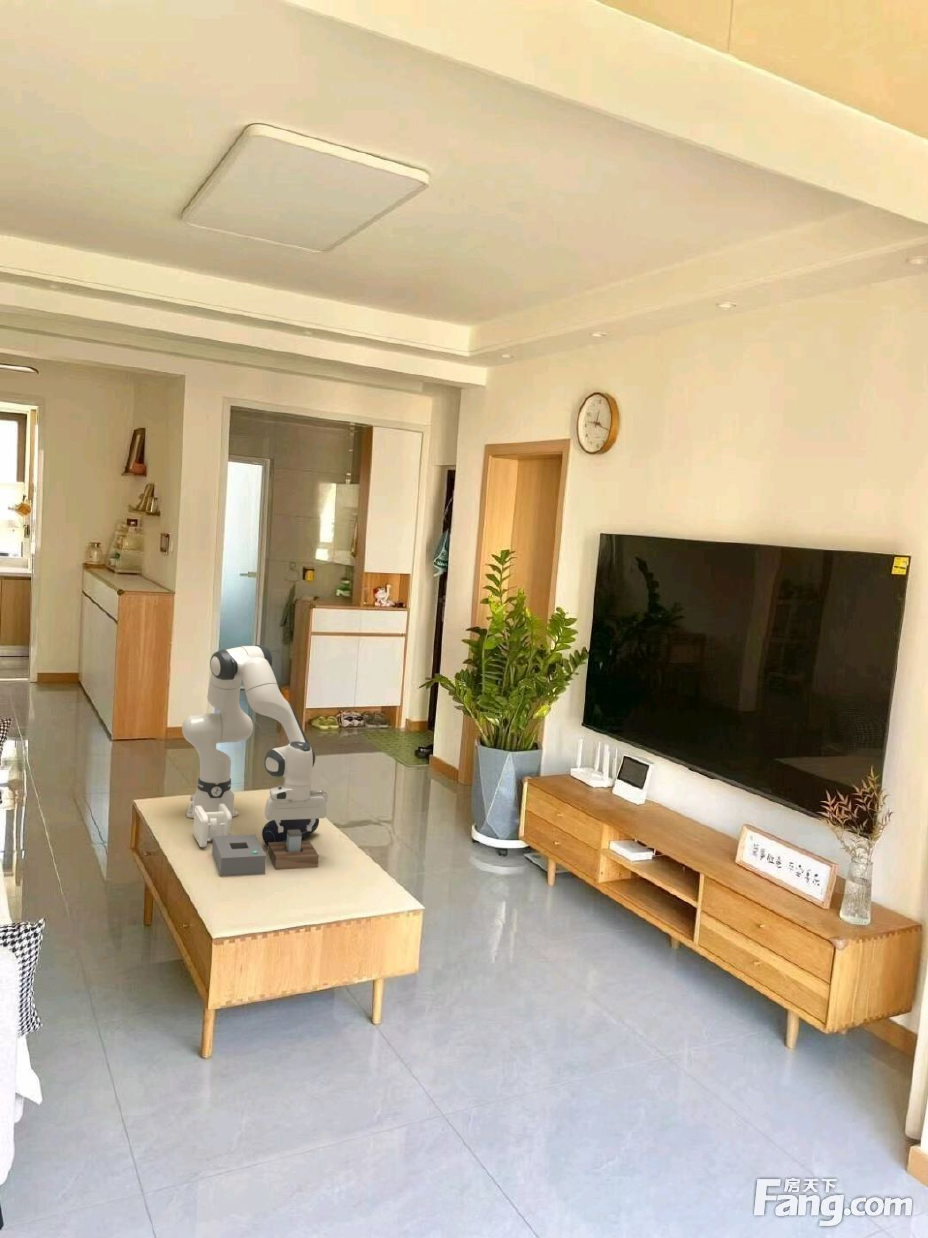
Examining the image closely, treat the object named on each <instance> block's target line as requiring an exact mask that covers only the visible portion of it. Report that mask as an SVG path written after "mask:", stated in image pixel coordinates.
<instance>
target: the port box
mask: <svg viewBox="0 0 928 1238" xmlns="http://www.w3.org/2000/svg"><path fill="white" fill-rule="evenodd" d="M211 854H212V857H213V860H214V863H215V865H216V868H217V872H218V874H219V876H220V877H230V876H231V877H232V876H249V875H250V876H251V875H265V874H266V863H267V854H266V852H265V851H264V849H263V847H262V845H261V843H260V841H259V839H258V836H257V835H256V834H255V833H254V834H234V835H233V834H232V835H228V836H213V839H212V850H211Z"/></svg>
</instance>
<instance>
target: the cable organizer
mask: <svg viewBox="0 0 928 1238" xmlns="http://www.w3.org/2000/svg"><path fill="white" fill-rule="evenodd" d="M232 819H233V817H232V816H231V813H230V811H229V810H228V809H227V807H226V806H225V804H219V810H218V812H205V811H204V810H203V808H202V807H201V806H195V808H194V818H193V829H192V830H193V831H192V833H193V836H194V838H195V840H196V842H197V844H198V845H199V847H200V848H206V847H207V844H208V842H211V840H213V836H228V835H231V832H232V821H233V820H232Z"/></svg>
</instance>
